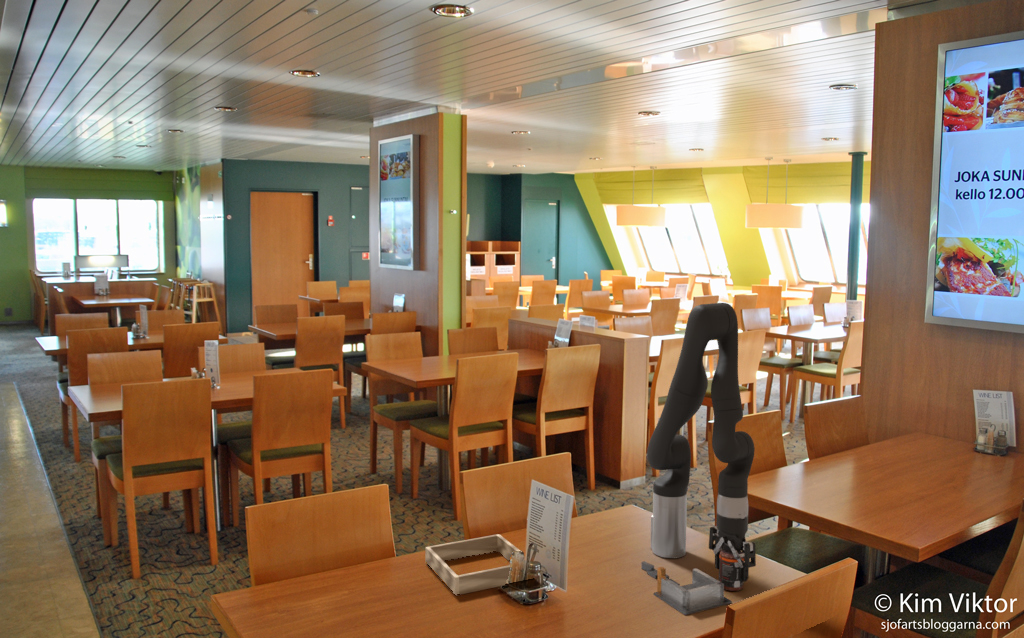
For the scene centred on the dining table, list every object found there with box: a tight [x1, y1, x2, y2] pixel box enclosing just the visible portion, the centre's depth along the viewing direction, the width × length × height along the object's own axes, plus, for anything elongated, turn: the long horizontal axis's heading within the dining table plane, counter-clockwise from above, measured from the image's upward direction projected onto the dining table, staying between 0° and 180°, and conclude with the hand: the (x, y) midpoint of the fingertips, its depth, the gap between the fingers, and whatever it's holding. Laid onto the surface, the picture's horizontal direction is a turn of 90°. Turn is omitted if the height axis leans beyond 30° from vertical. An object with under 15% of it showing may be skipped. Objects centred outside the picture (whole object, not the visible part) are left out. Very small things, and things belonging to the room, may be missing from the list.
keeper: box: [653, 566, 733, 616], centre depth 184 cm, size 12×14×6 cm
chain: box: [641, 560, 681, 586], centre depth 196 cm, size 14×2×2 cm, turn 26°
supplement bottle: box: [718, 543, 744, 592], centre depth 190 cm, size 6×6×11 cm
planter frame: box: [424, 533, 521, 596], centre depth 200 cm, size 22×22×4 cm
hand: (731, 574), depth 190 cm, fingers open, 8 cm apart
